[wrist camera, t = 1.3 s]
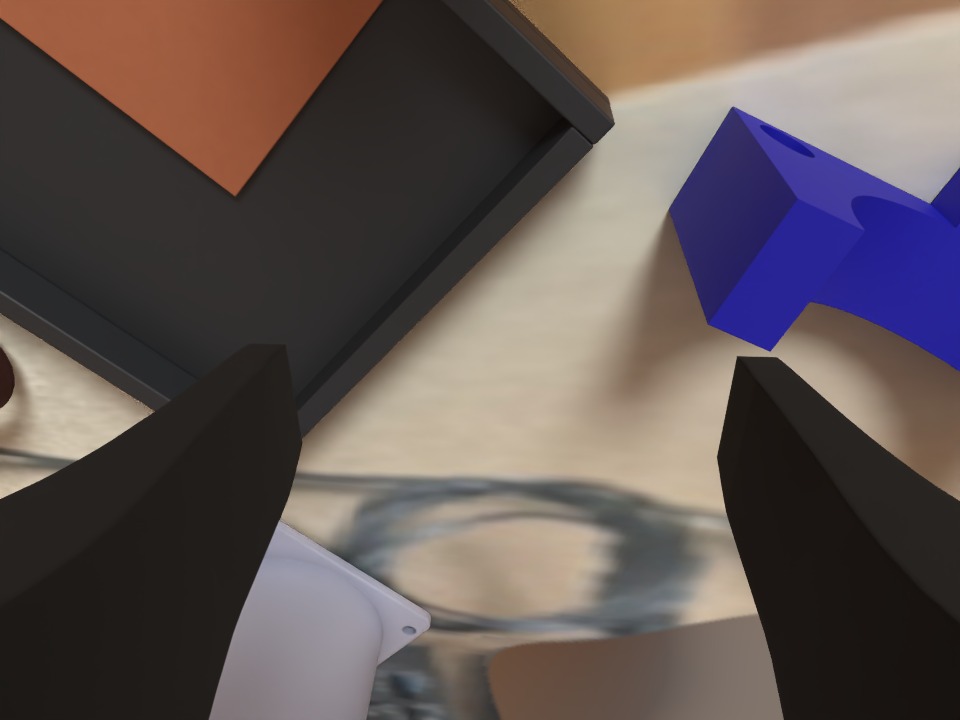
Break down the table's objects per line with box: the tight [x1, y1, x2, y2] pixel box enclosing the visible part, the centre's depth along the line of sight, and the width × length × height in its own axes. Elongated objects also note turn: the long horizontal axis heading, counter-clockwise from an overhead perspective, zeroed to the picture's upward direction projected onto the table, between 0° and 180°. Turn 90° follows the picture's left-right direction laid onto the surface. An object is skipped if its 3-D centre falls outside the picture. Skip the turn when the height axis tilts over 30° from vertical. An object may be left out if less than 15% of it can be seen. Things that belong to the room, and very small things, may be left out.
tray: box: [0, 0, 615, 438], centre depth 20 cm, size 15×16×2 cm
